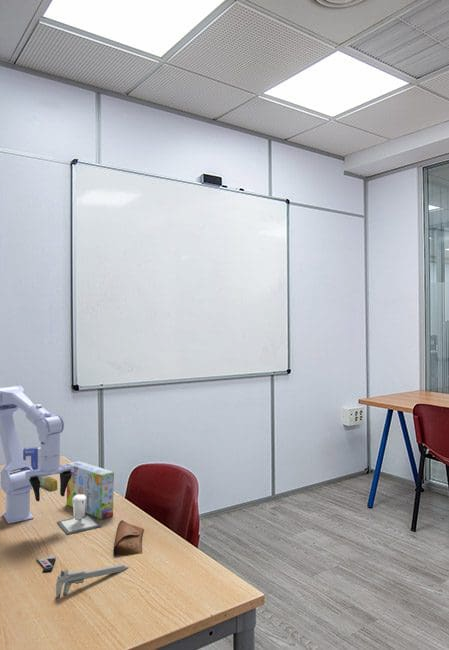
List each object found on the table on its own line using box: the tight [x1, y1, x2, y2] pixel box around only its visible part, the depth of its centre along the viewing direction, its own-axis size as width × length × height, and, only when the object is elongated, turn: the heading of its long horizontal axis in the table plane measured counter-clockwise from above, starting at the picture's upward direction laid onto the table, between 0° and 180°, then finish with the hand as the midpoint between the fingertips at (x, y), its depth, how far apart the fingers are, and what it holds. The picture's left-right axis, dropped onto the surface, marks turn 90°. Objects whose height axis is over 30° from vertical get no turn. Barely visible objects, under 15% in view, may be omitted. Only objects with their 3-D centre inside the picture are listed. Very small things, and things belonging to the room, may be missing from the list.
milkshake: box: [72, 494, 88, 525], centre depth 163 cm, size 4×5×10 cm
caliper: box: [55, 564, 130, 598], centre depth 128 cm, size 20×1×6 cm, turn 136°
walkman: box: [22, 446, 41, 470], centre depth 214 cm, size 8×3×12 cm, turn 102°
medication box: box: [38, 475, 58, 492], centre depth 200 cm, size 12×3×4 cm, turn 47°
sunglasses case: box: [112, 520, 145, 557], centre depth 151 cm, size 18×7×7 cm, turn 8°
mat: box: [56, 514, 102, 535], centre depth 163 cm, size 11×11×1 cm
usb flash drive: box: [36, 555, 57, 573], centre depth 137 cm, size 9×5×1 cm, turn 9°
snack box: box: [66, 460, 115, 520], centre depth 176 cm, size 21×6×15 cm, turn 50°
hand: (50, 497), depth 158 cm, fingers open, 7 cm apart
